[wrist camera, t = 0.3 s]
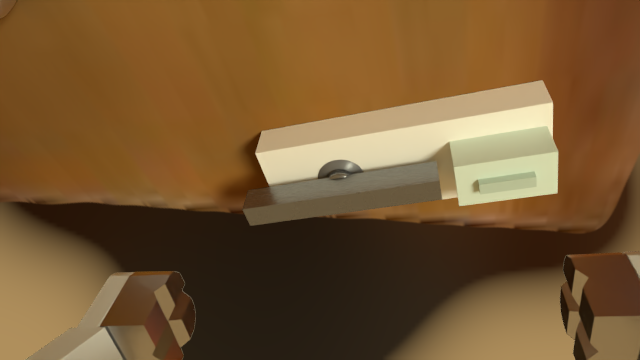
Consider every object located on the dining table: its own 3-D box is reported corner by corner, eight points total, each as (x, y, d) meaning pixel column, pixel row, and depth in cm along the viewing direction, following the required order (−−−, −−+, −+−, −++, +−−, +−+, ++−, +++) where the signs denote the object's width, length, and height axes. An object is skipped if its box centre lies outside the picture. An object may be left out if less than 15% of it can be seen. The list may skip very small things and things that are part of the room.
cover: (449, 141, 51) (454, 172, 47) (547, 125, 49) (560, 157, 45) (454, 179, 54) (460, 211, 50) (547, 166, 52) (559, 198, 48)
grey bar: (248, 183, 56) (241, 207, 54) (435, 154, 52) (438, 178, 49) (257, 203, 58) (251, 227, 55) (439, 177, 53) (442, 201, 51)
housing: (261, 131, 57) (254, 153, 54) (542, 80, 50) (553, 102, 47) (289, 197, 63) (284, 221, 60) (542, 160, 56) (552, 184, 53)
